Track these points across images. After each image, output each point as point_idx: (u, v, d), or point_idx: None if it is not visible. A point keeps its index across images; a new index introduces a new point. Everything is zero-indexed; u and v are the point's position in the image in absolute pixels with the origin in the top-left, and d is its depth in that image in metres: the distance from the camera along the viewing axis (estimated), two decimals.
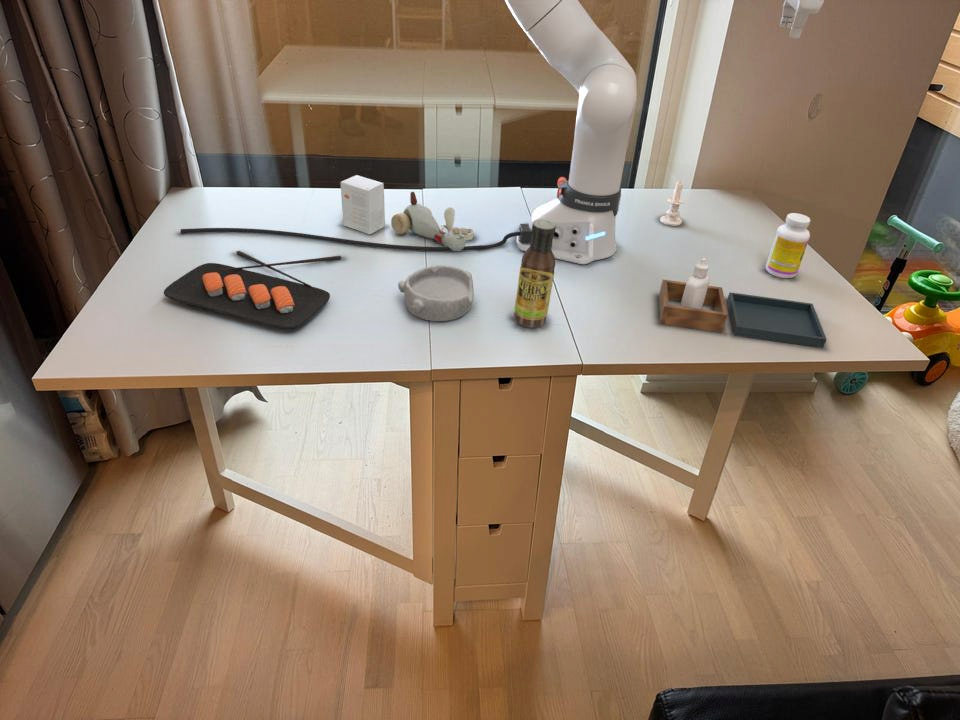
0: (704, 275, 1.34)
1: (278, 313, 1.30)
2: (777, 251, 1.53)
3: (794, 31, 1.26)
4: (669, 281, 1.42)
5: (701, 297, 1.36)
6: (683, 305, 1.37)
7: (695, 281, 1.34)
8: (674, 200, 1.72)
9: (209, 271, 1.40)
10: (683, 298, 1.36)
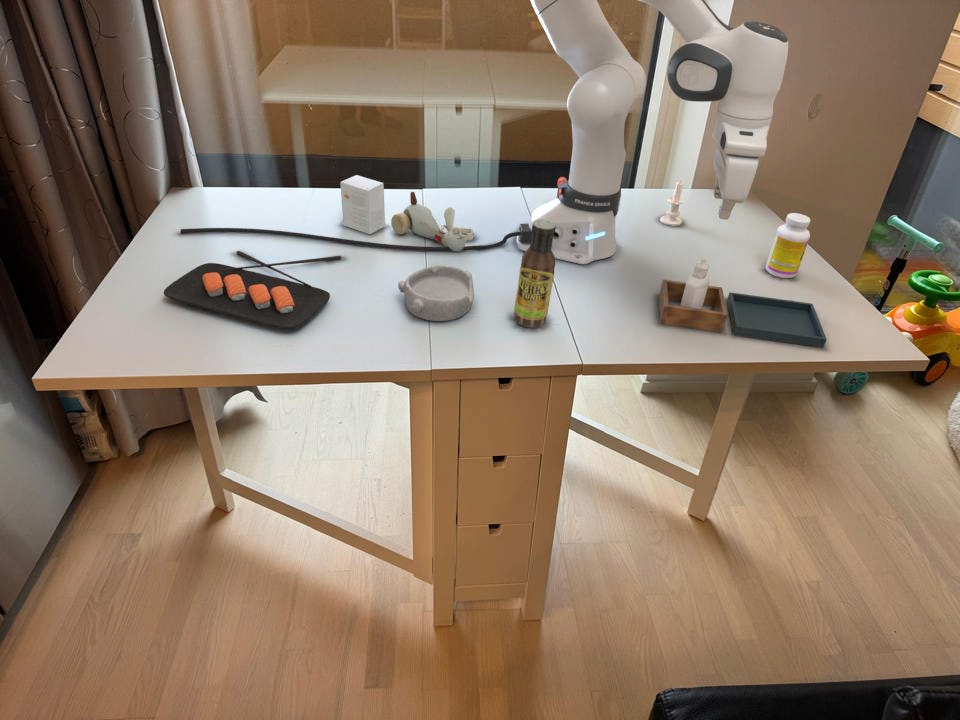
0: (704, 275, 1.34)
1: (278, 313, 1.30)
2: (777, 251, 1.53)
3: (723, 213, 1.24)
4: (669, 281, 1.42)
5: (701, 297, 1.36)
6: (683, 305, 1.37)
7: (695, 281, 1.34)
8: (674, 200, 1.72)
9: (209, 271, 1.40)
10: (683, 298, 1.36)
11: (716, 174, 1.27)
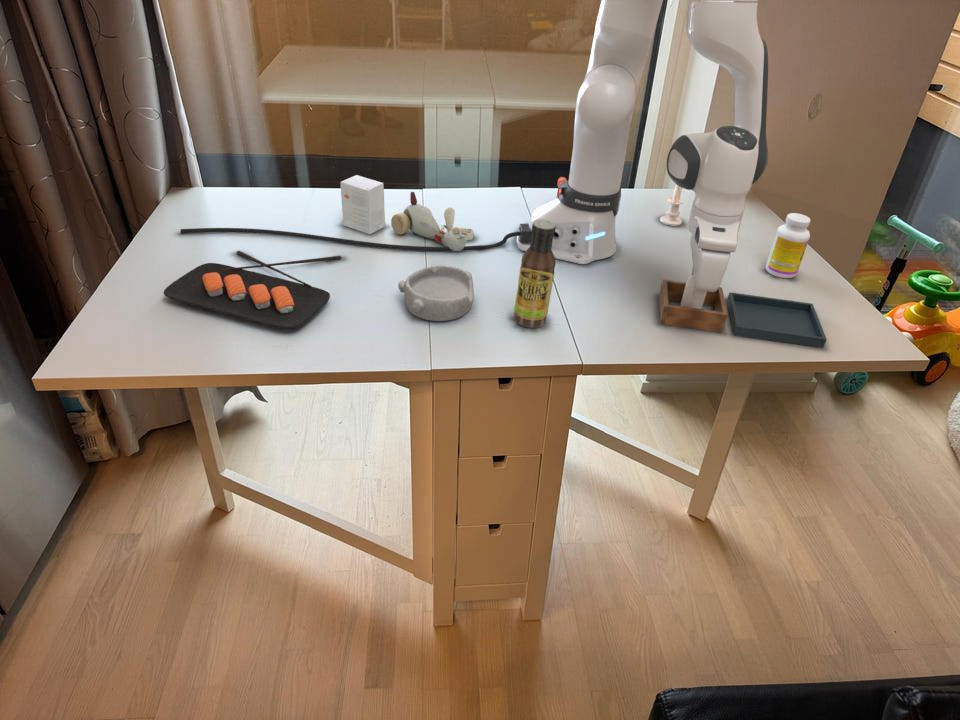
0: None
1: (278, 313, 1.30)
2: (777, 251, 1.53)
3: (697, 294, 1.33)
4: (669, 281, 1.42)
5: None
6: (683, 305, 1.37)
7: (695, 281, 1.34)
8: (674, 200, 1.72)
9: (209, 271, 1.40)
10: (683, 298, 1.36)
11: None
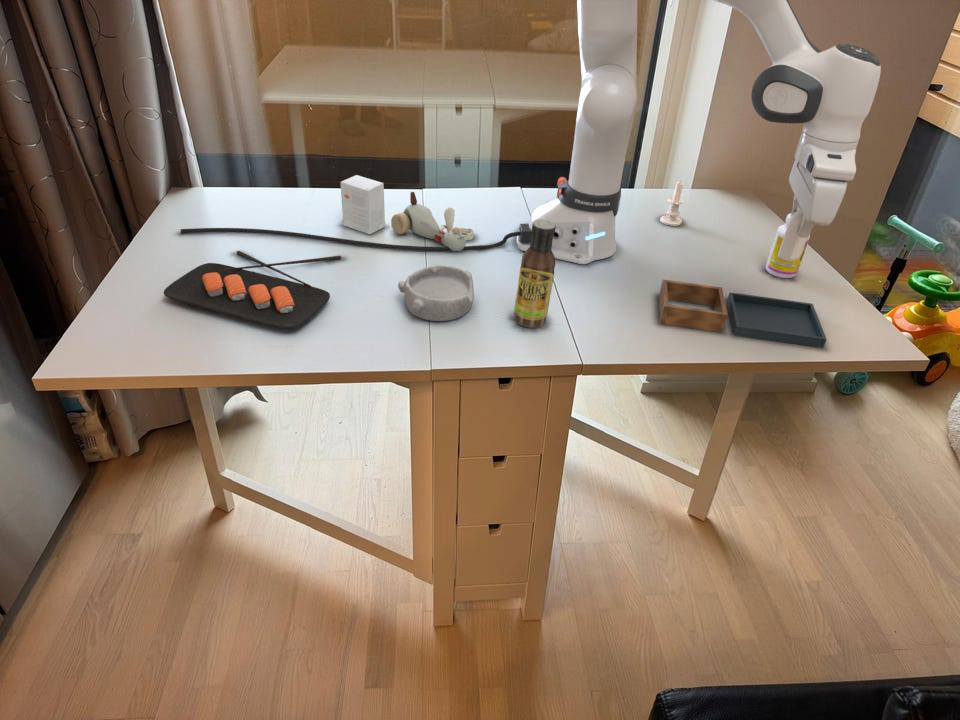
0: None
1: (278, 313, 1.30)
2: (777, 251, 1.53)
3: (803, 231, 1.24)
4: (669, 281, 1.42)
5: None
6: (785, 245, 1.28)
7: (799, 218, 1.25)
8: (674, 200, 1.72)
9: (209, 271, 1.40)
10: (785, 237, 1.27)
11: (795, 195, 1.26)
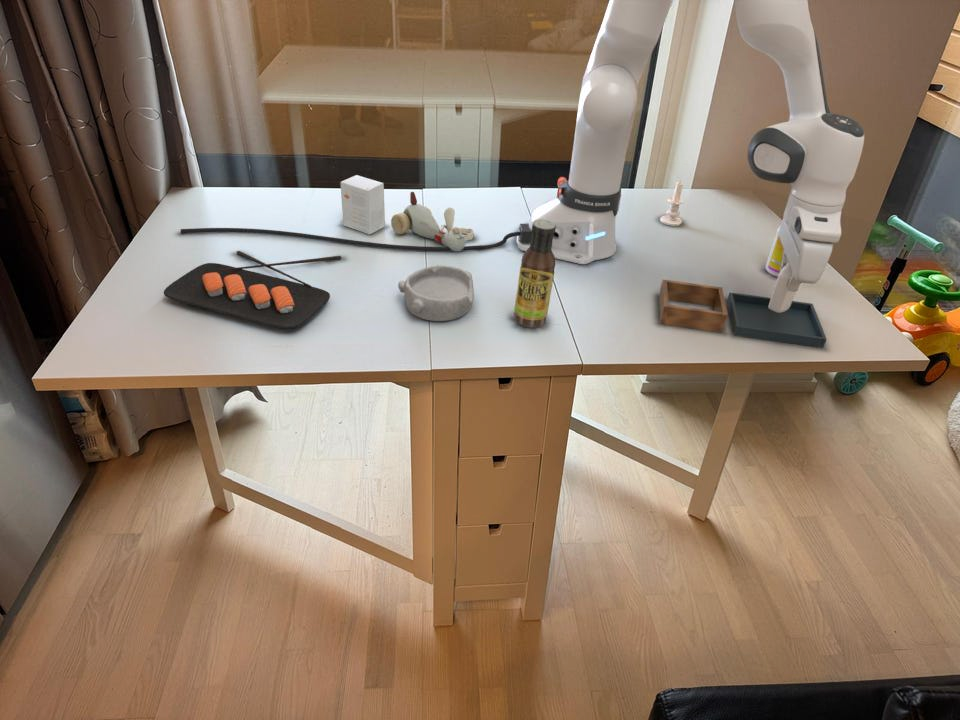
0: None
1: (278, 313, 1.30)
2: (777, 251, 1.53)
3: (792, 286, 1.30)
4: (669, 281, 1.42)
5: None
6: (775, 298, 1.34)
7: (789, 273, 1.31)
8: (674, 200, 1.72)
9: (209, 271, 1.40)
10: (775, 290, 1.34)
11: (785, 250, 1.32)
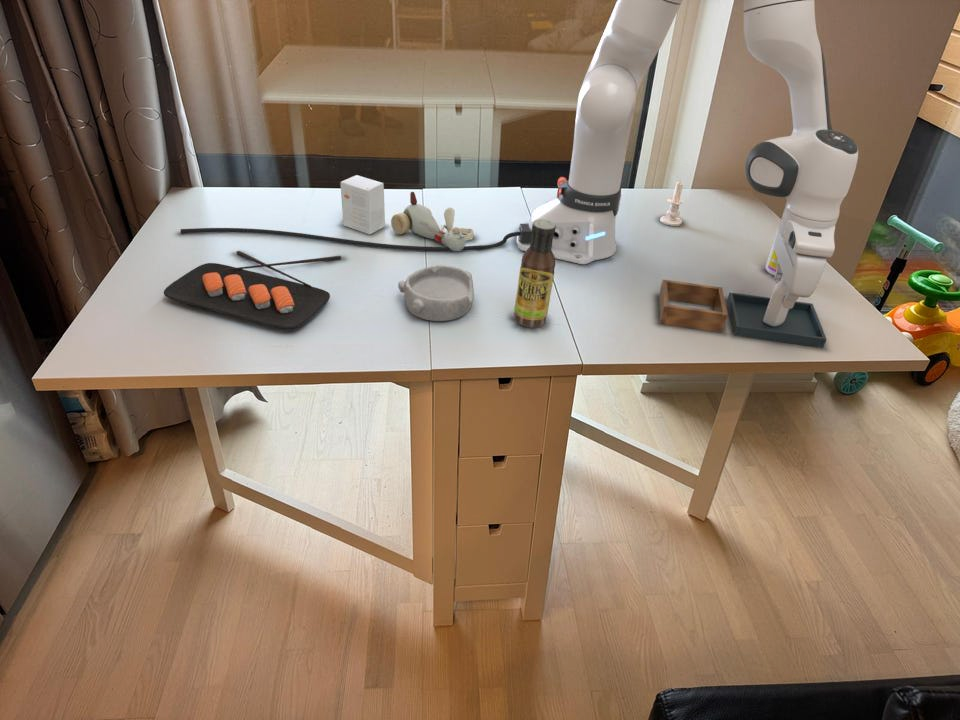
0: None
1: (278, 313, 1.30)
2: None
3: (787, 303, 1.30)
4: (669, 281, 1.42)
5: None
6: (769, 312, 1.36)
7: (783, 288, 1.33)
8: (674, 200, 1.72)
9: (209, 271, 1.40)
10: (770, 305, 1.35)
11: (779, 263, 1.34)
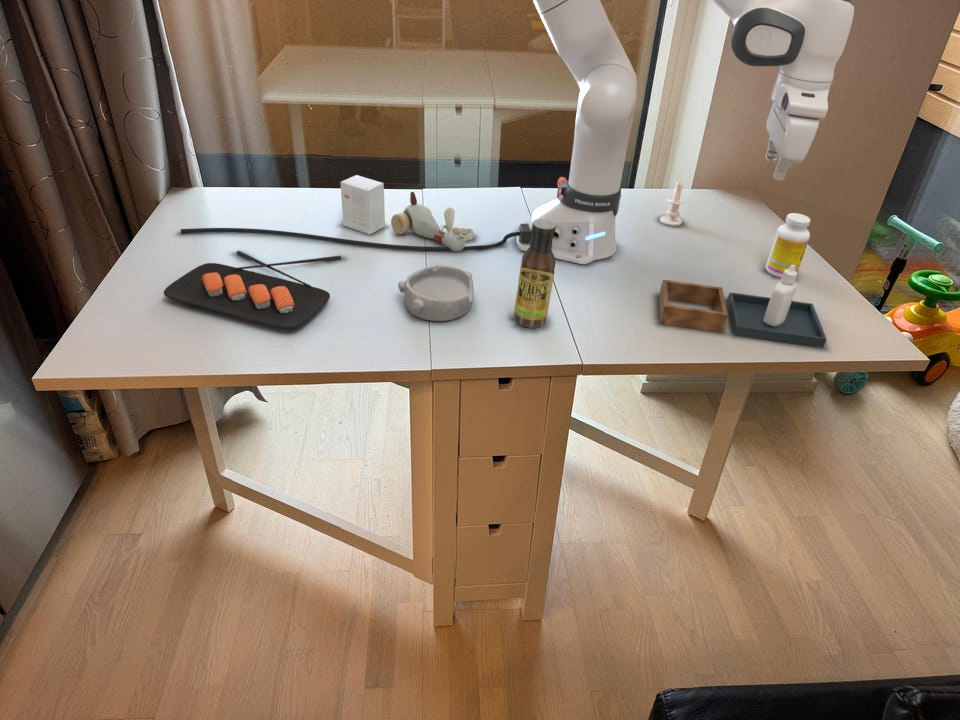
0: (793, 282, 1.33)
1: (278, 313, 1.30)
2: (777, 251, 1.53)
3: (778, 174, 1.27)
4: (669, 281, 1.42)
5: (788, 304, 1.35)
6: (769, 312, 1.36)
7: (783, 288, 1.33)
8: (674, 200, 1.72)
9: (209, 271, 1.40)
10: (770, 305, 1.35)
11: (771, 137, 1.31)
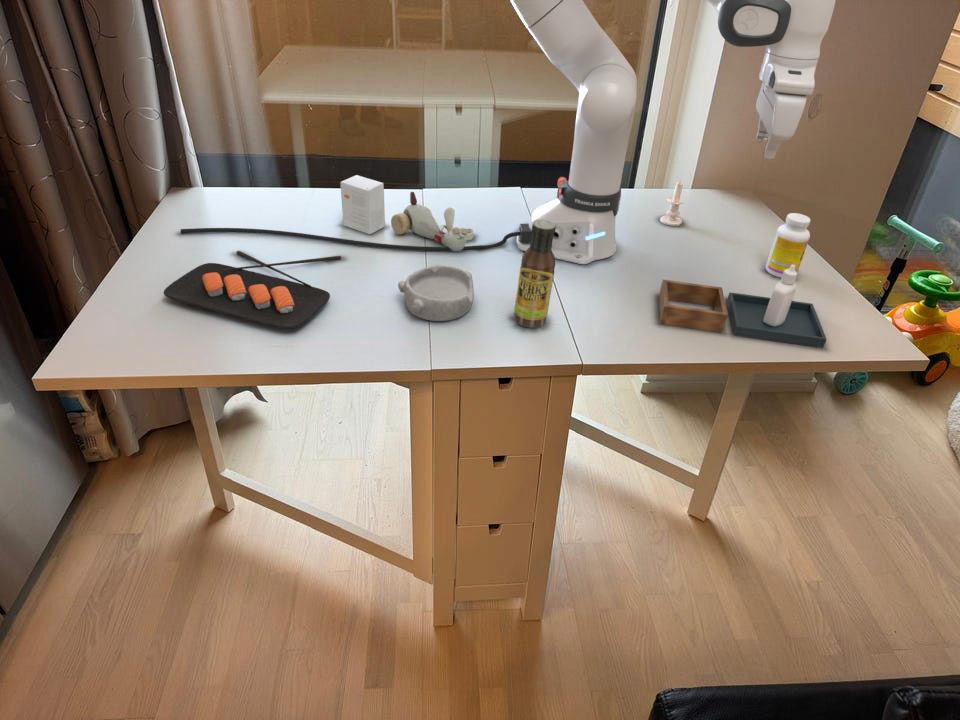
0: (793, 282, 1.33)
1: (278, 313, 1.30)
2: (777, 251, 1.53)
3: (768, 152, 1.29)
4: (669, 281, 1.42)
5: (788, 304, 1.35)
6: (769, 312, 1.36)
7: (783, 288, 1.33)
8: (674, 200, 1.72)
9: (209, 271, 1.40)
10: (770, 305, 1.35)
11: (761, 117, 1.32)
